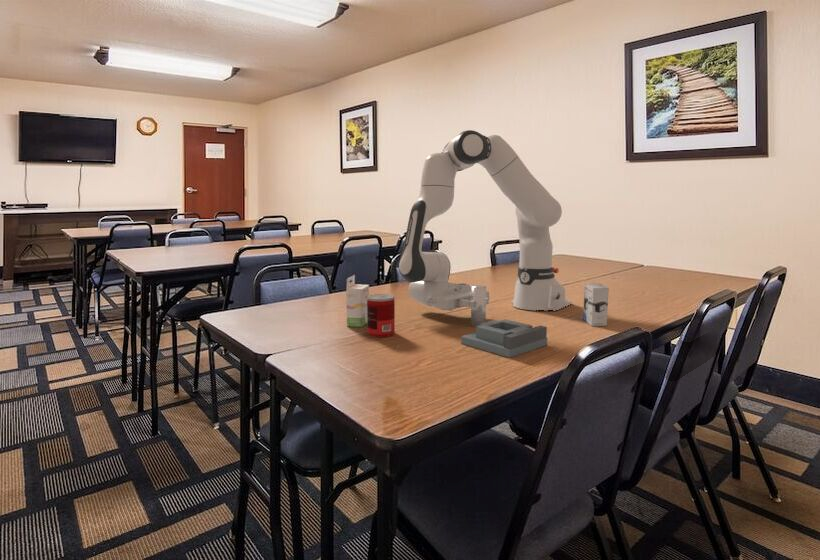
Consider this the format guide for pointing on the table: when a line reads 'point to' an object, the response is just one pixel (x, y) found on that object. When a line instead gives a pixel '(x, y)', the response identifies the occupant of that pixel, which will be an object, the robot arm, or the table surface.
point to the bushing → (478, 305)
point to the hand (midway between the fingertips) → (480, 302)
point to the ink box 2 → (595, 304)
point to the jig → (506, 337)
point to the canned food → (381, 315)
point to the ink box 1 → (356, 303)
